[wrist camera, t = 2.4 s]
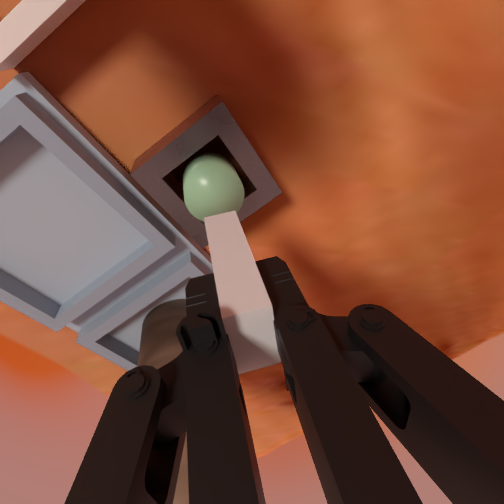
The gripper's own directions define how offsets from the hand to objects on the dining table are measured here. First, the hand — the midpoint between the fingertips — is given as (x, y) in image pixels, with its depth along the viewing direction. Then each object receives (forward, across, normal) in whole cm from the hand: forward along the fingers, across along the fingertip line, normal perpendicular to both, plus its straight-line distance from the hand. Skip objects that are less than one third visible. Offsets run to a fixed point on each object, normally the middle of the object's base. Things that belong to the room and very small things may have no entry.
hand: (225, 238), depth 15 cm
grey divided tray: (+10, -9, -7) cm, 15 cm away
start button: (+7, 0, 0) cm, 7 cm away
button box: (+10, 0, 0) cm, 10 cm away
